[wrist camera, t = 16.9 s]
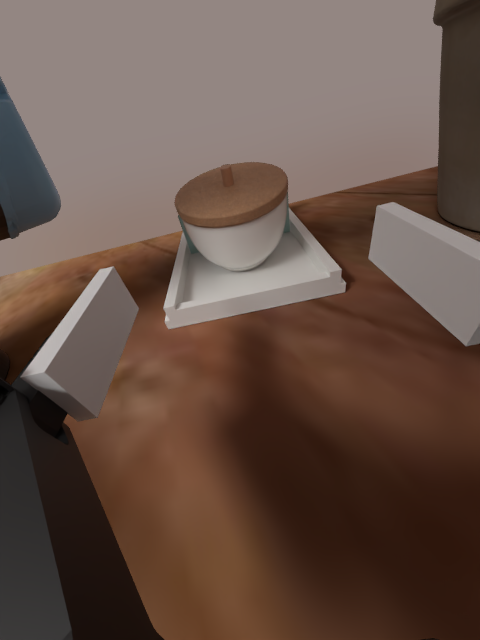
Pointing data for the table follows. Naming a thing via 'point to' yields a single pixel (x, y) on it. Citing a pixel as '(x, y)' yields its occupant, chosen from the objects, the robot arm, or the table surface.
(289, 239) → the pusher lane
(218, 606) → the table surface
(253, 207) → the lidded jar
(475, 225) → the plant pot
